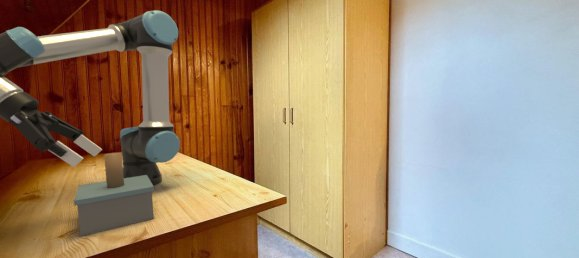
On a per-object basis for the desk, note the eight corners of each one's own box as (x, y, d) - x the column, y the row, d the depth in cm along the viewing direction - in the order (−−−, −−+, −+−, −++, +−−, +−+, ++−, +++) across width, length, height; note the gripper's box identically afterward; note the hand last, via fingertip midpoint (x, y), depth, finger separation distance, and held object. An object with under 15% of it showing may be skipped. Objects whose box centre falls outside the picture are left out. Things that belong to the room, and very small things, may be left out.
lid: (79, 192, 75) (75, 154, 73) (147, 181, 84) (144, 147, 83) (74, 209, 62) (69, 163, 61) (154, 194, 72) (151, 154, 71)
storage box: (84, 216, 75) (81, 189, 74) (147, 203, 84) (145, 179, 83) (80, 236, 64) (77, 204, 63) (153, 218, 73) (151, 190, 72)
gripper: (27, 111, 74) (95, 158, 81) (-50, 114, 51) (54, 181, 57) (49, 92, 76) (114, 140, 82) (-17, 87, 52) (81, 155, 59)
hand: (89, 157), depth 70 cm, fingers open, 13 cm apart
